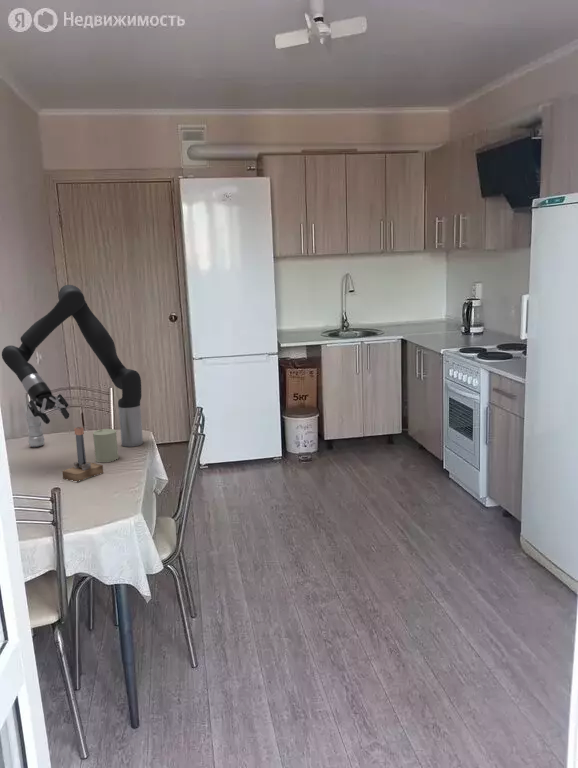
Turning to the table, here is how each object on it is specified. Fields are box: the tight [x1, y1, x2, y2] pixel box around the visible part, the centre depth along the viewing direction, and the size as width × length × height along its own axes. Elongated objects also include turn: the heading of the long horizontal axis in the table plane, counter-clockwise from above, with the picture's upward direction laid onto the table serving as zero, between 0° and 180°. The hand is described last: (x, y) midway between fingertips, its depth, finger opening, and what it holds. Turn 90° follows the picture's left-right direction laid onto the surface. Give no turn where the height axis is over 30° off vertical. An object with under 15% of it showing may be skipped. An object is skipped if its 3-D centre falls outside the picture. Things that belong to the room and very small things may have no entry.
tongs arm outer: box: [74, 427, 84, 468], centre depth 231 cm, size 1×3×15 cm, turn 56°
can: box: [92, 428, 120, 463], centre depth 252 cm, size 9×9×12 cm
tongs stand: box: [61, 461, 104, 482], centre depth 233 cm, size 12×8×5 cm, turn 147°
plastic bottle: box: [25, 401, 45, 448], centre depth 272 cm, size 6×7×20 cm
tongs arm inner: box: [76, 426, 87, 464], centre depth 232 cm, size 1×3×15 cm, turn 57°
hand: (58, 420), depth 236 cm, fingers open, 8 cm apart
